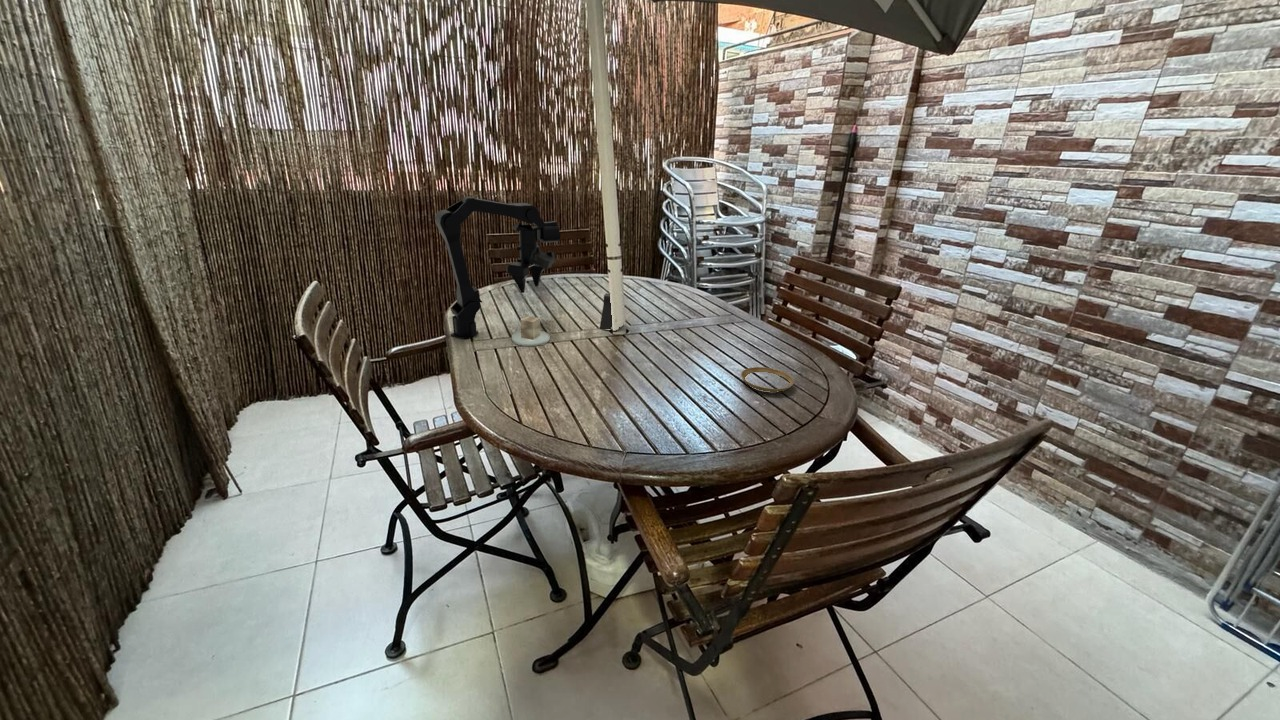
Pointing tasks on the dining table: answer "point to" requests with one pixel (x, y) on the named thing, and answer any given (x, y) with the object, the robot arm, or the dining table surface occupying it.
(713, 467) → the dining table surface
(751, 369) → the tan ring
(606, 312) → the phone stand
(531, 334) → the birch block
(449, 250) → the robot arm
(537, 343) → the dish
